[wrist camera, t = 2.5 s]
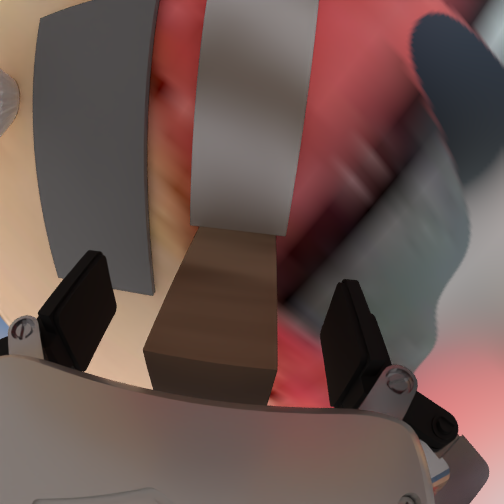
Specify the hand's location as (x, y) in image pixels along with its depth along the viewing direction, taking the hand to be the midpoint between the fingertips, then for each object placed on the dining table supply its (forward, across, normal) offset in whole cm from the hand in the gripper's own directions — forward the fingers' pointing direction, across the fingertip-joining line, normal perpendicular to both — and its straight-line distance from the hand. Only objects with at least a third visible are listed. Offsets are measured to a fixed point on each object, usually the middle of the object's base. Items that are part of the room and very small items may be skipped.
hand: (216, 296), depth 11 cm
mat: (+4, +8, -4) cm, 10 cm away
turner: (+4, 0, -5) cm, 7 cm away
